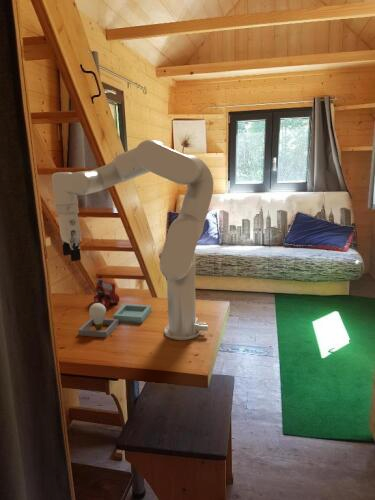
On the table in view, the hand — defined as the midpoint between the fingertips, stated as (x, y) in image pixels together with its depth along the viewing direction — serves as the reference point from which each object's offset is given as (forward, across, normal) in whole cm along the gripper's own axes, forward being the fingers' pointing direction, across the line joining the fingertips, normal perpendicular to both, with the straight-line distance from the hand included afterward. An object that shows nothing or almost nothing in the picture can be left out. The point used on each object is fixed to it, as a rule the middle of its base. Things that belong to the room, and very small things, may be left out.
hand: (71, 257), depth 132 cm
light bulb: (+26, -8, -5) cm, 28 cm away
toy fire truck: (+26, +15, -16) cm, 35 cm away
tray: (+26, -4, -20) cm, 33 cm away
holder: (+26, -8, -5) cm, 28 cm away
